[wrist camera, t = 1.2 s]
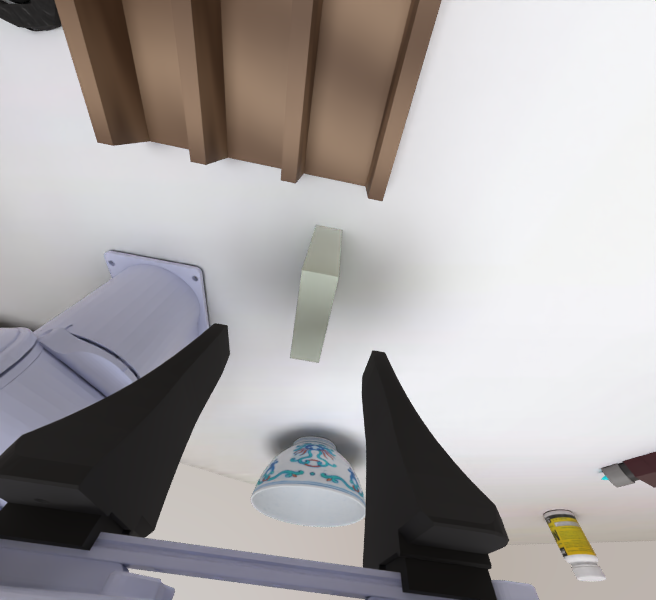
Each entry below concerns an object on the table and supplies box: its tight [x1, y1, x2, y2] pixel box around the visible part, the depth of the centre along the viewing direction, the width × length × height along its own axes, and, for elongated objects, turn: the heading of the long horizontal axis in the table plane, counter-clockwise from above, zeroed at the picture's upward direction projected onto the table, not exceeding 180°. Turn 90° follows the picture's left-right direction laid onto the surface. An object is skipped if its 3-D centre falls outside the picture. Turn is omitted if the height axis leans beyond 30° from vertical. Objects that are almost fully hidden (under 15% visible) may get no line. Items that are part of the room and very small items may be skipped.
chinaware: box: [251, 436, 366, 527], centre depth 36 cm, size 15×15×8 cm
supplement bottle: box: [544, 510, 606, 581], centre depth 45 cm, size 5×5×8 cm
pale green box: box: [290, 225, 342, 363], centre depth 18 cm, size 7×2×7 cm, turn 170°
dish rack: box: [55, 0, 441, 201], centre depth 12 cm, size 12×15×4 cm
